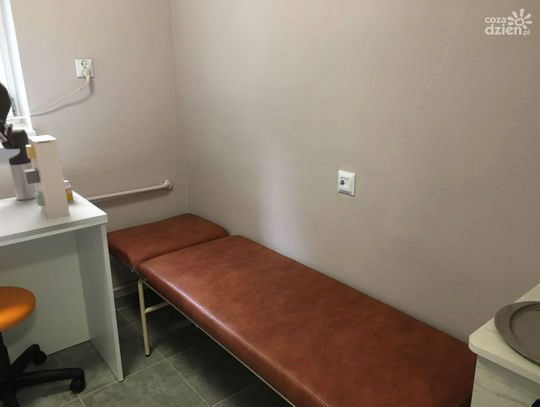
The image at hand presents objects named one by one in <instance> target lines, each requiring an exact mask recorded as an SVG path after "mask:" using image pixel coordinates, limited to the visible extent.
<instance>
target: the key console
mask: <svg viewBox="0 0 540 407" xmlns="http://www.w3.org/2000/svg"><path fill="white" fill-rule="evenodd" d="M28 141H29V145H33V147H34V152H35V157H36V158H35V159H31V163H32V168H36V169H38V173H39V178H40V182H39V183H36V188H37V192H38V191H41V192H42V194H43V199H44V204H45V205H44V206H40V208H41V210H42V211H43V213H44V215H46V217H47V218H48V220H49V219H55V218H60V217H66V216H70V215H71V214H70V213H71V212H70V208H69V202H67V196H66V190H65V184H64V179H63V178H64V174H63V169H62V168H63V167H62V162H61V156H60V150H59V144H58V140H57V138H55V137H54V136H51V135H38V136H37V135H36V136H28Z"/></svg>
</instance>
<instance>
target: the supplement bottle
mask: <svg viewBox="0 0 540 407" xmlns="http://www.w3.org/2000/svg"><path fill="white" fill-rule="evenodd" d="M64 184H65V190H66V196H67V202H68V203H71V202H73V201H74V196H73V190H72V186H71V184H70V181H69V180H68V179H67V180H64Z"/></svg>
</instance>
